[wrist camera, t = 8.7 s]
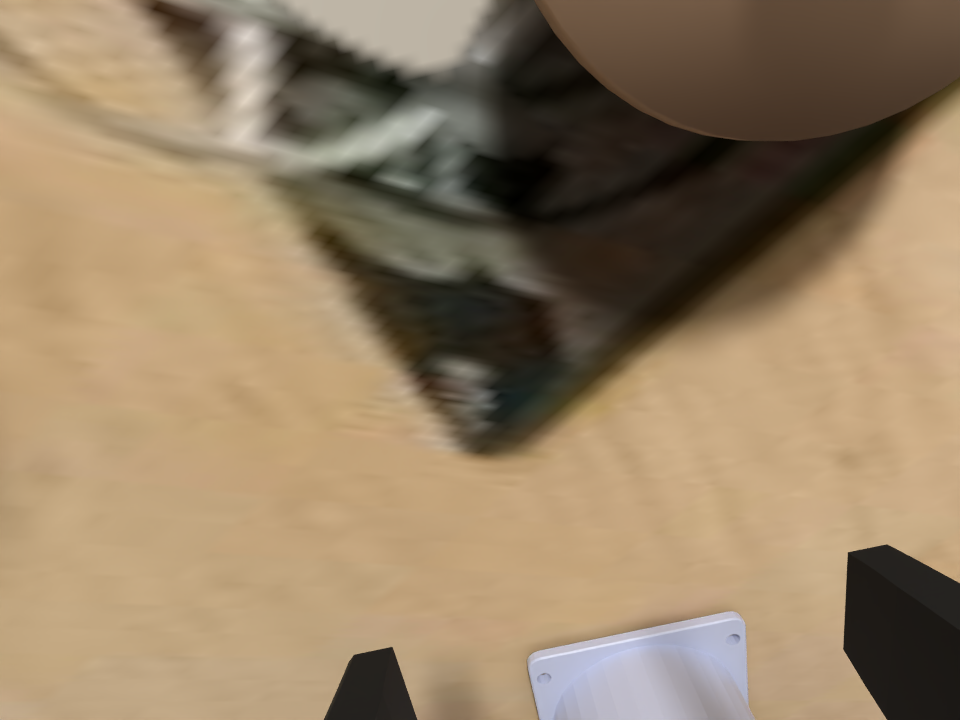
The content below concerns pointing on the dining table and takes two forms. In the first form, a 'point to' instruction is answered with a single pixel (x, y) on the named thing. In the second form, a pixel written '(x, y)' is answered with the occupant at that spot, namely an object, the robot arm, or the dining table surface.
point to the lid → (764, 60)
